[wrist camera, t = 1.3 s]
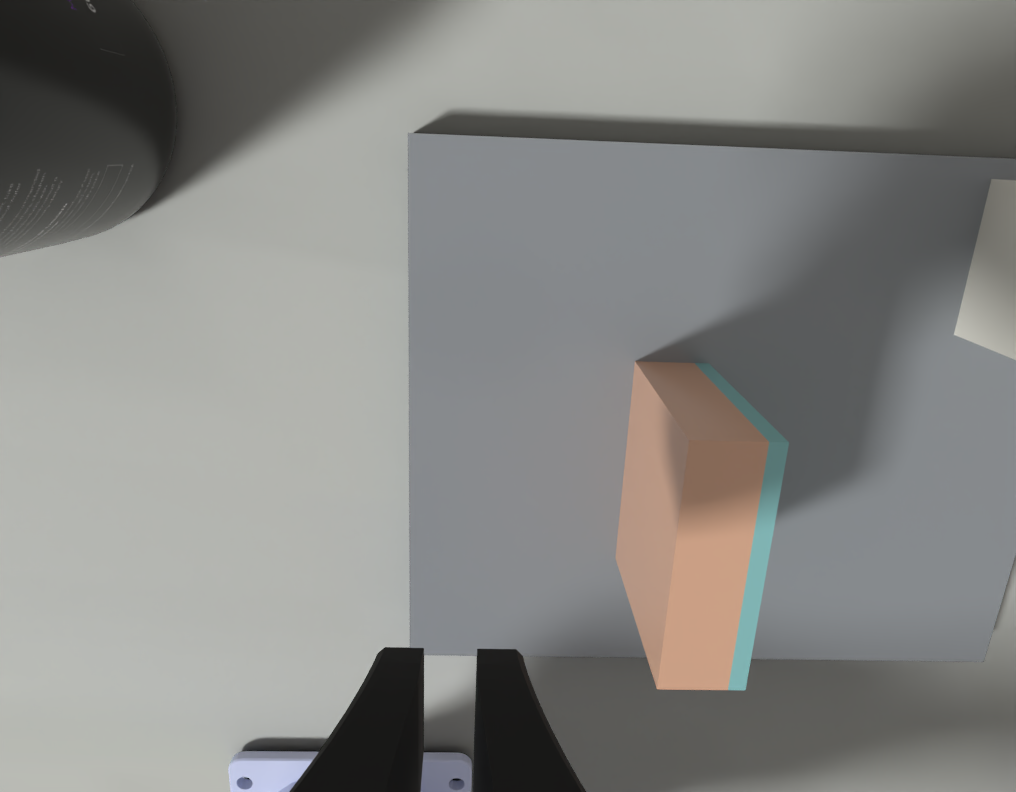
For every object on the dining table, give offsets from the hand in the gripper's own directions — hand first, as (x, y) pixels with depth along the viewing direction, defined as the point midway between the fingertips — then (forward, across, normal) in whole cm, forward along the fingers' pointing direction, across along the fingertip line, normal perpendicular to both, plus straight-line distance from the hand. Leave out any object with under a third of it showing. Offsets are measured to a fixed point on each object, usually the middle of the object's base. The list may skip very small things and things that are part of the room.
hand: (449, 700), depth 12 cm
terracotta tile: (+9, -6, 0) cm, 11 cm away
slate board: (+10, -8, -1) cm, 13 cm away
